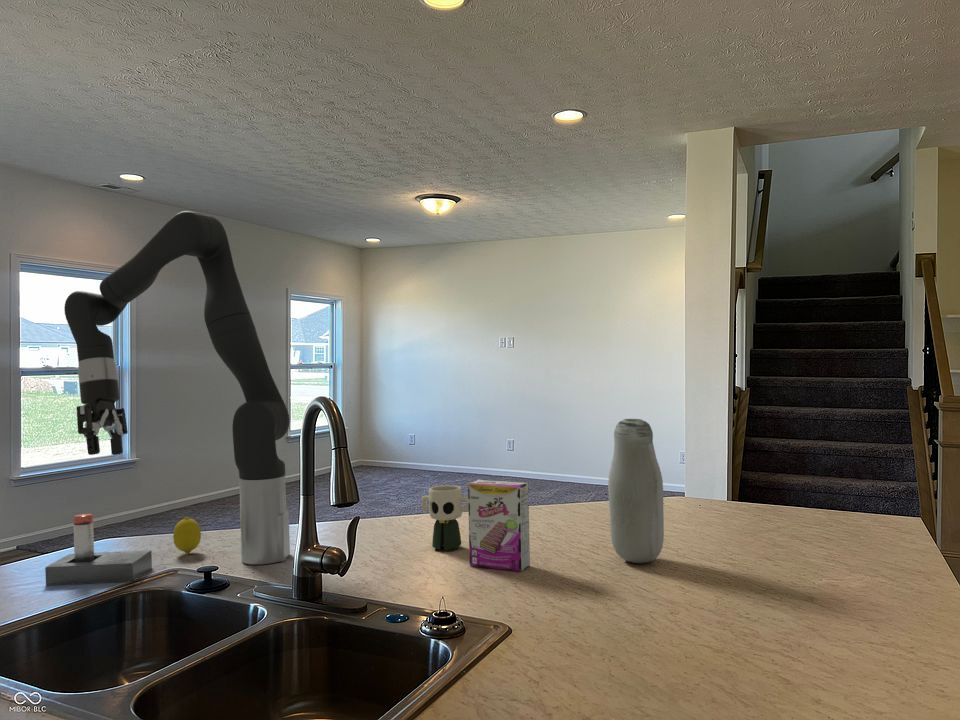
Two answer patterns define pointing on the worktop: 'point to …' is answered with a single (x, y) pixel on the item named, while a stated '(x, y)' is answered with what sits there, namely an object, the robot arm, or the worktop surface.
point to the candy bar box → (499, 525)
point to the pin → (83, 538)
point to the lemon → (187, 535)
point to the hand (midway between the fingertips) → (106, 454)
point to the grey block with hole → (99, 568)
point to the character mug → (445, 514)
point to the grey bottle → (635, 493)
